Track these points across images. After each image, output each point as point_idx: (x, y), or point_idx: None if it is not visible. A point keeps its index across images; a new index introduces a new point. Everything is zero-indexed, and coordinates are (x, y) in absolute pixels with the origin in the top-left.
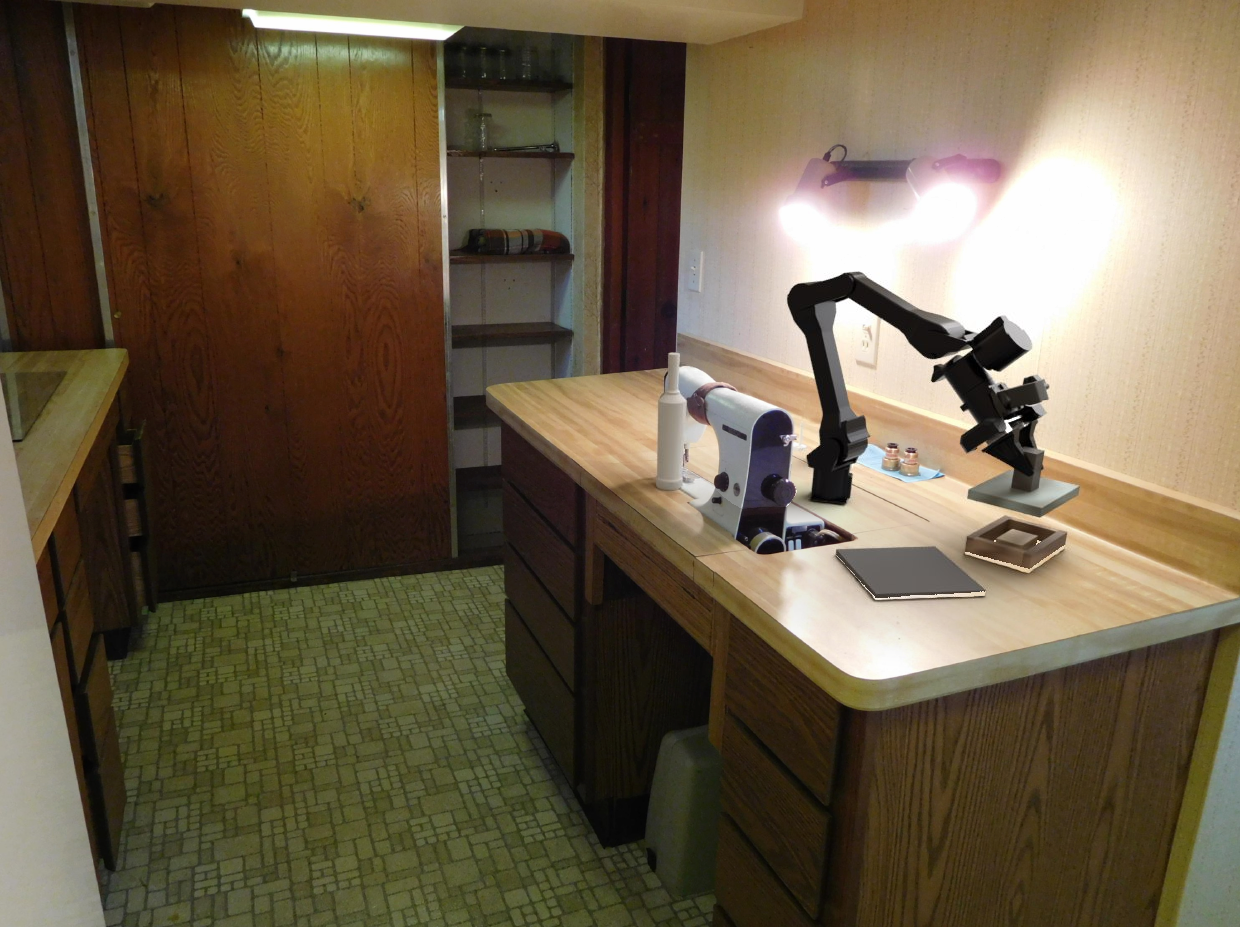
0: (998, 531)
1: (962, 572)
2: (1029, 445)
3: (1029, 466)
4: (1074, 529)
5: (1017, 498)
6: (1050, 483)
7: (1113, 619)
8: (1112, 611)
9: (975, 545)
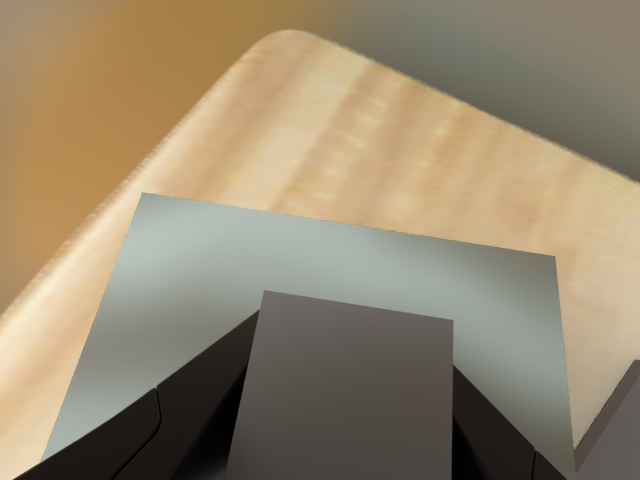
0: None
1: (605, 446)
2: (199, 470)
3: None
4: (44, 287)
5: (519, 372)
6: (176, 299)
7: (523, 147)
8: (491, 152)
9: None
